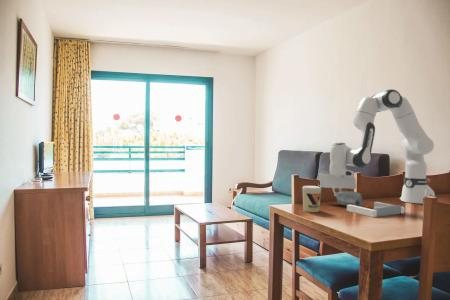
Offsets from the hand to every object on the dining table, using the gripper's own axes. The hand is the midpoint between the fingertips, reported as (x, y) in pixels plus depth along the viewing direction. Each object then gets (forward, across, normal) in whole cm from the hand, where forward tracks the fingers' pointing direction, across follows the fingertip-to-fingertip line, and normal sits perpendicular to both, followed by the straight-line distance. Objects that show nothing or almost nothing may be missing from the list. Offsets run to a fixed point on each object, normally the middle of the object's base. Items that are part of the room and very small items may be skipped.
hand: (336, 196), depth 210 cm
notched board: (+4, +19, -18) cm, 26 cm away
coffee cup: (+4, -12, -27) cm, 30 cm away
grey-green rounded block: (+4, +6, -6) cm, 10 cm away
